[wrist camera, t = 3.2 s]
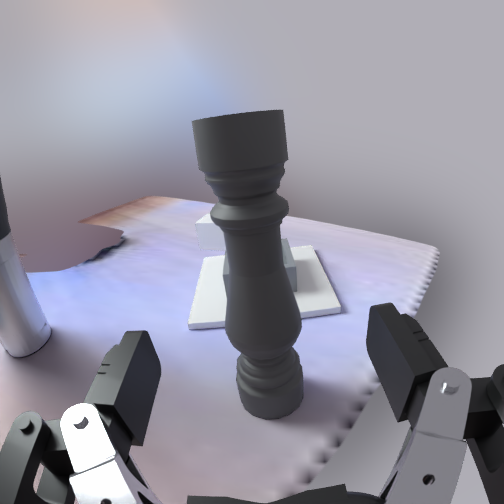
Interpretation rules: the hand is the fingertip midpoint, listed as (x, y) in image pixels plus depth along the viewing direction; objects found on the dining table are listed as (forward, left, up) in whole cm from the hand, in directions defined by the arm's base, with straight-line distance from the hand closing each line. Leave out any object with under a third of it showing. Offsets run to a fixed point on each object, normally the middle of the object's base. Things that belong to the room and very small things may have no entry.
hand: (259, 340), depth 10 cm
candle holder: (0, +11, -18) cm, 21 cm away
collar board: (0, +33, -17) cm, 38 cm away
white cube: (-8, +51, -18) cm, 55 cm away
